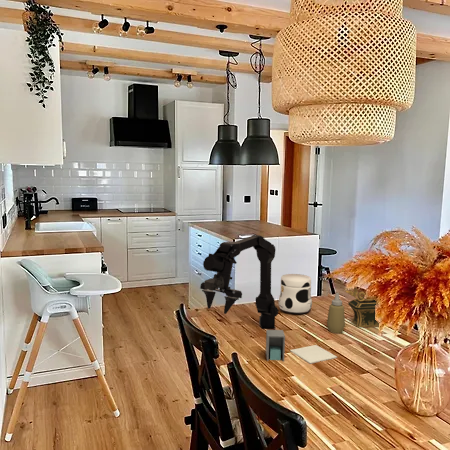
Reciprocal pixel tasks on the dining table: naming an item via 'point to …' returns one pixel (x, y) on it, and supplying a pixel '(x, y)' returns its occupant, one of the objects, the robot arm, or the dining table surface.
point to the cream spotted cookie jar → (295, 294)
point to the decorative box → (363, 310)
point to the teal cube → (275, 353)
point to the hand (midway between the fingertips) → (216, 311)
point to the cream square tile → (313, 354)
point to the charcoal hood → (275, 341)
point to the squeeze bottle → (336, 316)
